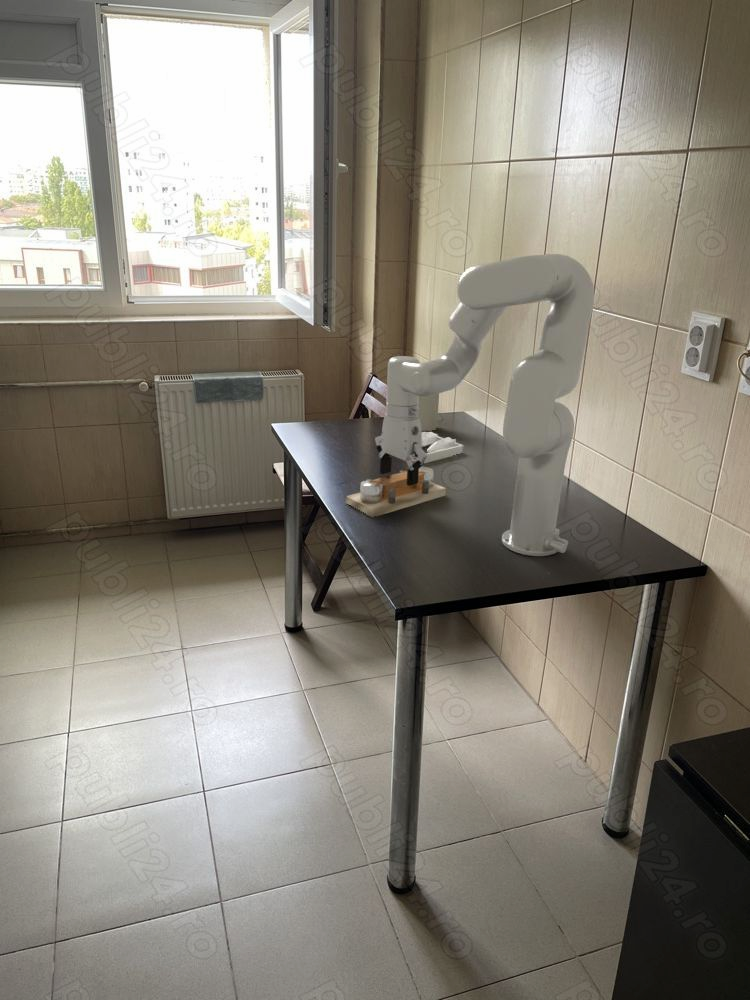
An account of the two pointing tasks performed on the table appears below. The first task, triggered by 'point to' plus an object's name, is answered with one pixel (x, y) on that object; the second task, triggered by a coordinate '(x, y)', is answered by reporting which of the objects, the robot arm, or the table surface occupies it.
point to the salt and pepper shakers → (436, 446)
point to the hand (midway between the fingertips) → (398, 478)
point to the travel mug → (428, 412)
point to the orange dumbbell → (392, 486)
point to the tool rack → (397, 499)
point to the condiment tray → (443, 451)
